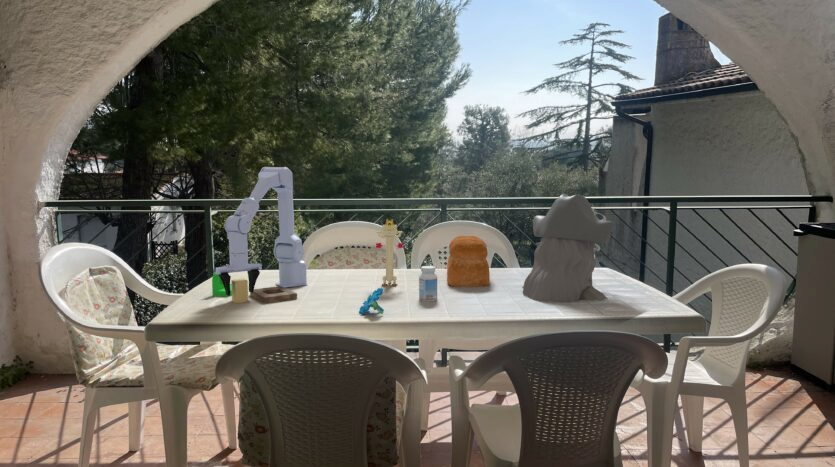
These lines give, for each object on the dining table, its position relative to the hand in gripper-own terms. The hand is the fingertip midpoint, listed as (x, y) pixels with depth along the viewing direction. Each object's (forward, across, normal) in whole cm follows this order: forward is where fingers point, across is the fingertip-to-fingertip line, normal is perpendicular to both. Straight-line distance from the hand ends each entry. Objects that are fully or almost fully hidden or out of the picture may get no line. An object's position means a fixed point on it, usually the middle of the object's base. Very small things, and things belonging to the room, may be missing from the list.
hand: (239, 293), depth 195 cm
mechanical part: (+3, -2, -15) cm, 15 cm away
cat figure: (+3, -54, +7) cm, 55 cm away
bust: (+3, -94, +55) cm, 109 cm away
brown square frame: (+2, -11, +1) cm, 11 cm away
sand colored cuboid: (+2, 0, 0) cm, 2 cm away
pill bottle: (+3, -51, +34) cm, 62 cm away
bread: (+3, -82, +18) cm, 84 cm away
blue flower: (+4, -25, +37) cm, 45 cm away
